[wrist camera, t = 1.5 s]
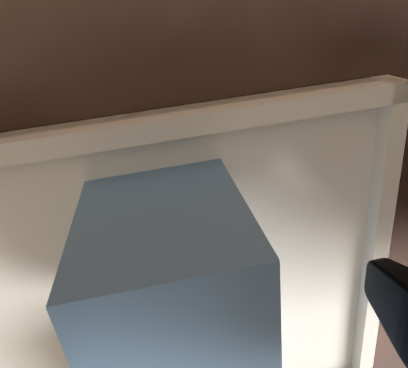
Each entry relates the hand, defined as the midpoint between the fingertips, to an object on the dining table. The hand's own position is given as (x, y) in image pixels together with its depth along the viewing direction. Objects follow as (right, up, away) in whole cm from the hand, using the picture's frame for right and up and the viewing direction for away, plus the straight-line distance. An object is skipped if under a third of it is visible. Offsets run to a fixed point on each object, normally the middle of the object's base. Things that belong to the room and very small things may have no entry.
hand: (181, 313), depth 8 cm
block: (-1, +2, +3) cm, 4 cm away
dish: (0, -1, +5) cm, 5 cm away
